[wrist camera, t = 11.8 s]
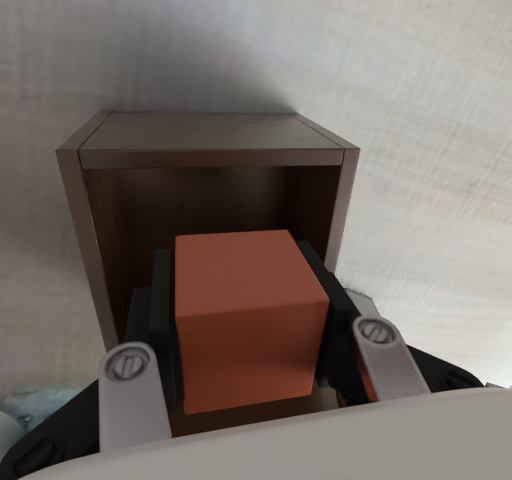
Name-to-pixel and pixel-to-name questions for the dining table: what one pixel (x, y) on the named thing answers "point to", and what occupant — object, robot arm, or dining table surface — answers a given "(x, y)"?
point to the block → (245, 319)
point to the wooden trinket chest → (196, 190)
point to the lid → (252, 412)
